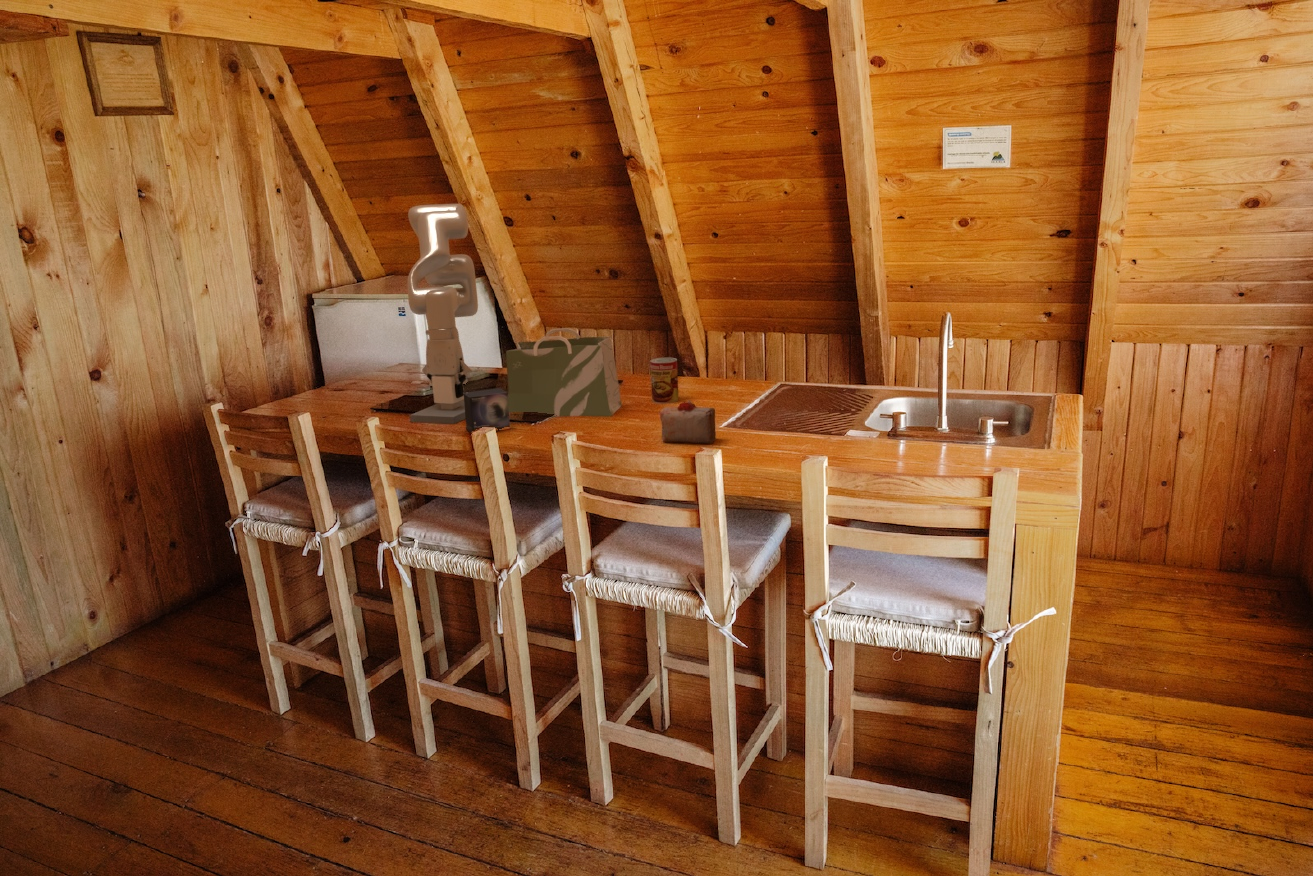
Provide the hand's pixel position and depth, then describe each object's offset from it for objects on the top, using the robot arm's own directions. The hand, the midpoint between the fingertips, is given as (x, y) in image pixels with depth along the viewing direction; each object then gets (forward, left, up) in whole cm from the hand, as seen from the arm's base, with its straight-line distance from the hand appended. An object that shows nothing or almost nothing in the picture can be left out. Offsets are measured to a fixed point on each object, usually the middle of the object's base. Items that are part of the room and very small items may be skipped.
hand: (449, 396), depth 272 cm
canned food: (-27, +56, -6) cm, 62 cm away
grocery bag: (-10, +31, -6) cm, 33 cm away
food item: (+14, +76, -6) cm, 78 cm away
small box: (+14, +20, -6) cm, 25 cm away
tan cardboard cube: (0, 0, -1) cm, 1 cm away
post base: (0, 0, -5) cm, 5 cm away
